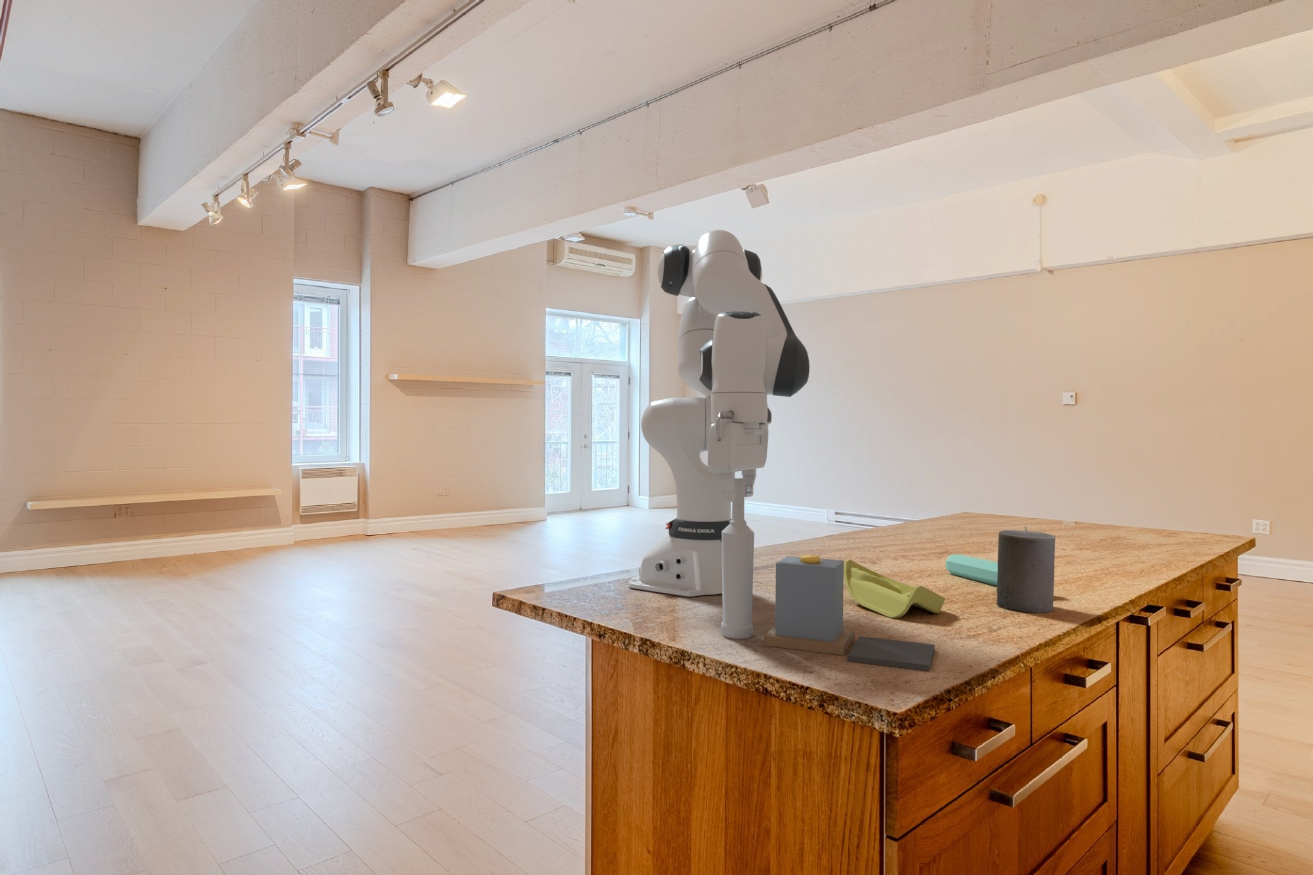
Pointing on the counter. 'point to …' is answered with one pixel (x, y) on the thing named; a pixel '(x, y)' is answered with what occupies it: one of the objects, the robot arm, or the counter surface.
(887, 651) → the pad
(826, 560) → the mounted unit
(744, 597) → the bottle
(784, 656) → the counter surface
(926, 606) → the plastic component
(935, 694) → the counter surface
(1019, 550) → the pillar candle
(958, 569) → the mint green rod
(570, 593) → the counter surface
